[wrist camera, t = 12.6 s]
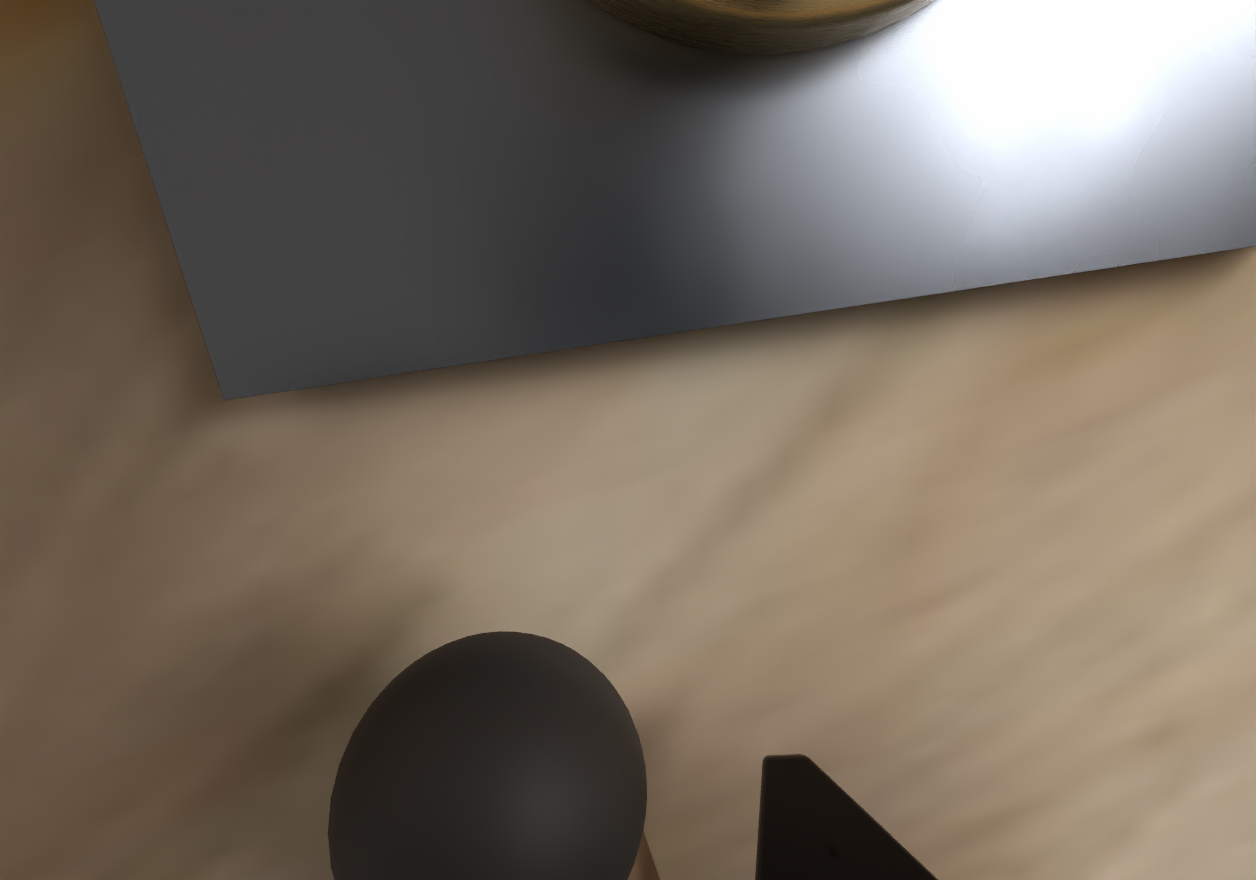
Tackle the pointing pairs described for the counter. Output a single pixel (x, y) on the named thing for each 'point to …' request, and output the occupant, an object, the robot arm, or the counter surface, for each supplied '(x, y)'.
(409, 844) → the lever
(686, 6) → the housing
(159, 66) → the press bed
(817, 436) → the counter surface
